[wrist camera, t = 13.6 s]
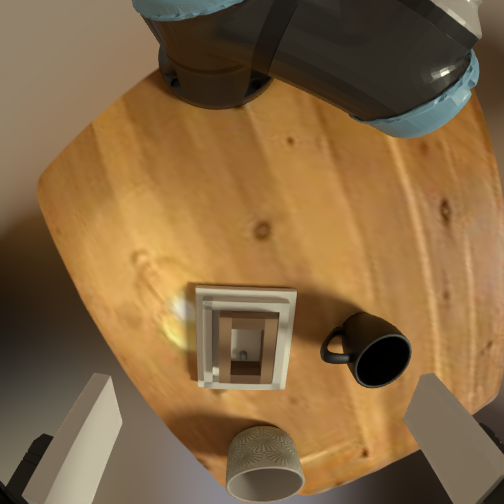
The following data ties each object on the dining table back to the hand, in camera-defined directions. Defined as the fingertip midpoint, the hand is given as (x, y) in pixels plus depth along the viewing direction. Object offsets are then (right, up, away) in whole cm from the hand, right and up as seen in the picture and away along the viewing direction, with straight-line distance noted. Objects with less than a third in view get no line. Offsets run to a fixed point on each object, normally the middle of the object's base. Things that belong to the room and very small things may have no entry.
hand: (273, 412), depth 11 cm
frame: (-2, -6, +30) cm, 30 cm away
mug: (+13, -5, +31) cm, 34 cm away
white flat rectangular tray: (-2, -6, +31) cm, 32 cm away
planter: (+1, -27, +36) cm, 46 cm away
